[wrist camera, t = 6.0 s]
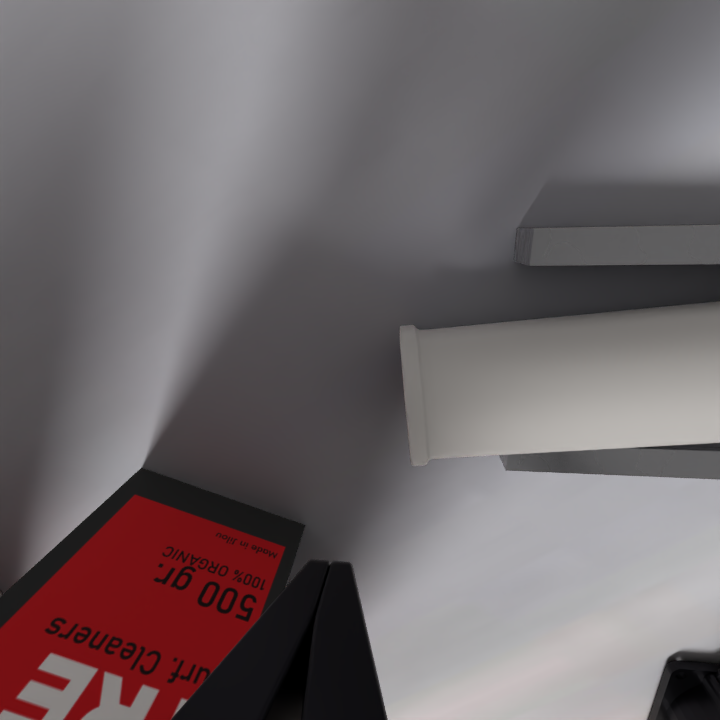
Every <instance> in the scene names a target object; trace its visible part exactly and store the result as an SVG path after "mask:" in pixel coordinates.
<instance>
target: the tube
mask: <svg viewBox="0 0 720 720" xmlns="http://www.w3.org/2000/svg"><path fill="white" fill-rule="evenodd" d="M399 329H400V351H401V363H402V375H403V387H404V399H405V410H406V421H407V431H408V441H409V452H410V461H411V464H412V465H413V466H425V465H427V463H428V462H429V460H433V459H440V458H457V457H475V456H493V455H511V454H528V453H546V452H564V451H582V450H599V449H617V448H635V447H653V446H670V445H688V444H706V443H720V301H716V302H706V303H695V304H685V305H675V306H664V307H654V308H644V309H634V310H623V311H613V312H603V313H592V314H582V315H572V316H561V317H551V318H541V319H531V320H520V321H510V322H500V323H489V324H479V325H469V326H458V327H448V328H438V329H417V328H416V327H415V326H414V325H403V326H400V328H399Z"/></svg>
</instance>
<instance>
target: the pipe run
mask: <svg viewBox="0 0 720 720" xmlns="http://www.w3.org/2000/svg"><path fill="white" fill-rule="evenodd" d="M514 262H518V263H522V264H525V265H529V266H566V265H676V264H720V225H669V226H615V227H561V228H517V233H516V243H515V253H514ZM499 456H500V458H501V460H502V463H503V465H504V467H505V470H509V471H533V472H557V473H581V474H604V475H628V476H652V477H675V478H699V479H720V443H706V444H688V445H670V446H653V447H635V448H617V449H599V450H582V451H564V452H546V453H528V454H511V455H499Z"/></svg>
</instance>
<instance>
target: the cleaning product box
mask: <svg viewBox="0 0 720 720" xmlns="http://www.w3.org/2000/svg"><path fill="white" fill-rule="evenodd" d="M304 527H305V525H303V524H300V523H298V522H295V521H292V520H289V519H286V518H283V517H280V516H278V515H275V514H272V513H269V512H266V511H263V510H260V509H258V508H255V507H252V506H249V505H246V504H243V503H241V502H238V501H235V500H232V499H229V498H226V497H223V496H221V495H218V494H215V493H212V492H209V491H206V490H203V489H201V488H198V487H195V486H192V485H189V484H186V483H183V482H181V481H178V480H175V479H172V478H169V477H166V476H163V475H161V474H158V473H155V472H152V471H149V470H146V469H143V468H141V469H140V470H139V471H138V472H137V473H135V474H134V475H133V476H132V477H131V478H130V479H129V480H128V481H127V482H126V483H125V484H123V485H122V486H121V487H120V488H119V489H118V490H117V491H116V492H115V493H114V494H113V495H111V496H110V497H109V498H108V499H107V500H106V501H105V502H104V503H103V504H102V505H100V506H99V507H98V508H97V509H96V510H95V511H94V512H93V513H92V514H91V515H90V516H88V517H87V518H86V519H85V520H84V521H83V522H82V523H81V524H80V525H79V526H78V527H76V528H75V529H74V530H73V531H72V532H71V533H70V534H69V535H68V536H67V537H66V538H64V539H63V540H62V541H61V542H60V543H59V544H58V545H57V546H56V547H55V548H54V549H52V550H51V551H50V552H49V553H48V554H47V555H46V556H45V557H44V558H43V559H42V560H40V561H39V562H38V563H37V564H36V565H35V566H34V567H33V568H32V569H31V570H29V571H28V572H27V573H26V574H25V575H24V576H23V577H22V578H21V579H20V580H19V581H17V582H16V583H15V584H14V585H13V586H12V587H11V588H10V589H9V590H8V591H7V592H5V593H4V594H3V595H2V596H1V597H0V720H171V719H172V717H173V716H174V715H175V714H176V713H177V712H178V711H179V709H180V708H181V707H182V706H183V705H184V704H185V703H186V701H187V700H188V699H189V698H190V697H191V696H192V694H193V693H194V692H195V691H196V690H197V689H198V688H199V686H200V685H201V684H202V683H203V682H204V681H205V680H206V678H207V677H208V676H209V675H210V674H211V673H212V672H213V670H214V669H215V668H216V667H217V666H218V665H219V663H220V662H221V661H222V660H223V659H224V658H225V657H226V655H227V654H228V653H229V652H230V651H231V650H232V649H233V647H234V646H235V645H236V644H237V643H238V642H239V641H240V639H241V638H242V637H243V636H244V635H245V634H246V633H247V631H248V630H249V629H250V628H251V627H252V626H253V624H254V623H255V622H256V621H257V620H258V619H259V618H260V616H261V615H262V614H263V613H264V612H265V611H266V610H267V608H268V607H269V606H270V605H271V604H272V603H273V602H274V600H275V599H276V598H277V597H278V596H279V595H280V594H281V592H282V591H283V590H284V589H285V586H286V583H287V580H288V577H289V573H290V570H291V567H292V564H293V561H294V558H295V555H296V552H297V549H298V546H299V543H300V540H301V537H302V534H303V531H304Z"/></svg>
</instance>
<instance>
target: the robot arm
mask: <svg viewBox="0 0 720 720" xmlns="http://www.w3.org/2000/svg"><path fill="white" fill-rule="evenodd" d="M171 720H388V719H387V715H386V710H385V706H384V702H383V697H382V693H381V689H380V684H379V680H378V675H377V671H376V667H375V662H374V658H373V654H372V649H371V645H370V641H369V636H368V632H367V627H366V623H365V619H364V614H363V610H362V606H361V601H360V597H359V592H358V588H357V584H356V579H355V575H354V571H353V566H352V564H351V563H350V562H341V561H333V562H332V563H330V562H329V561H327V560H314V559H313V560H310V561H309V562H308V563H307V564H306V565H305V566H304V567H303V568H302V569H301V571H300V572H299V573H298V574H297V575H296V576H295V577H294V579H293V580H292V581H291V582H290V583H289V584H288V585H287V587H286V588H285V589H284V590H283V591H282V592H281V594H280V595H279V596H278V597H277V598H276V599H275V600H274V602H273V603H272V604H271V605H270V606H269V607H268V608H267V610H266V611H265V612H264V613H263V614H262V615H261V616H260V618H259V619H258V620H257V621H256V622H255V623H254V624H253V626H252V627H251V628H250V629H249V630H248V631H247V633H246V634H245V635H244V636H243V637H242V638H241V639H240V641H239V642H238V643H237V644H236V645H235V646H234V647H233V649H232V650H231V651H230V652H229V653H228V654H227V655H226V657H225V658H224V659H223V660H222V661H221V662H220V663H219V665H218V666H217V667H216V668H215V669H214V670H213V672H212V673H211V674H210V675H209V676H208V677H207V678H206V680H205V681H204V682H203V683H202V684H201V685H200V686H199V688H198V689H197V690H196V691H195V692H194V693H193V694H192V696H191V697H190V698H189V699H188V700H187V701H186V703H185V704H184V705H183V706H182V707H181V708H180V709H179V711H178V712H177V713H176V714H175V715H174V716H173V717H172V719H171ZM648 720H720V664H710V663H698V662H687V661H672V662H670V663H668V664H667V666H666V667H665V670H664V674H663V677H662V680H661V683H660V686H659V689H658V692H657V695H656V698H655V701H654V704H653V707H652V710H651V713H650V716H649V719H648Z"/></svg>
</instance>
